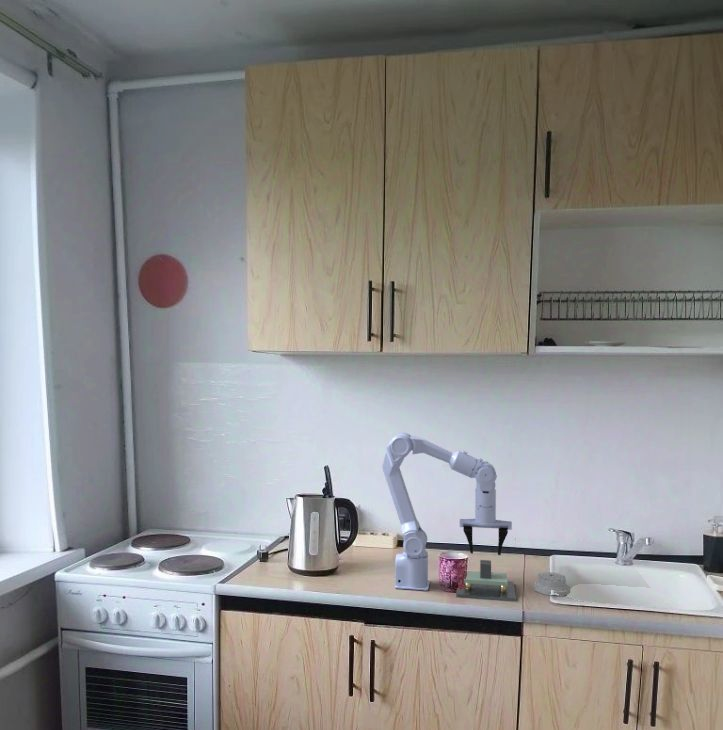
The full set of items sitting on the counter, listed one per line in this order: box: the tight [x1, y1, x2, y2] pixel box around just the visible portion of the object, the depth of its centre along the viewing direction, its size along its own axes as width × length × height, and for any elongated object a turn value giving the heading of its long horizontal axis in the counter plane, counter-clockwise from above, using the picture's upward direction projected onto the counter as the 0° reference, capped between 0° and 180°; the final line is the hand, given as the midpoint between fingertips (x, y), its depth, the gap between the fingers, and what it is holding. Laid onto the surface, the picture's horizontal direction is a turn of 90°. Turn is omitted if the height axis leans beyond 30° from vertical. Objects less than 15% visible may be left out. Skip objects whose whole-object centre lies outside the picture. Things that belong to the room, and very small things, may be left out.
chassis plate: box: [455, 581, 517, 602], centre depth 175 cm, size 16×14×3 cm
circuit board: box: [464, 559, 509, 586], centre depth 175 cm, size 12×8×5 cm, turn 79°
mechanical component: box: [533, 571, 571, 597], centre depth 175 cm, size 10×4×10 cm
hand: (485, 553), depth 175 cm, fingers open, 7 cm apart
